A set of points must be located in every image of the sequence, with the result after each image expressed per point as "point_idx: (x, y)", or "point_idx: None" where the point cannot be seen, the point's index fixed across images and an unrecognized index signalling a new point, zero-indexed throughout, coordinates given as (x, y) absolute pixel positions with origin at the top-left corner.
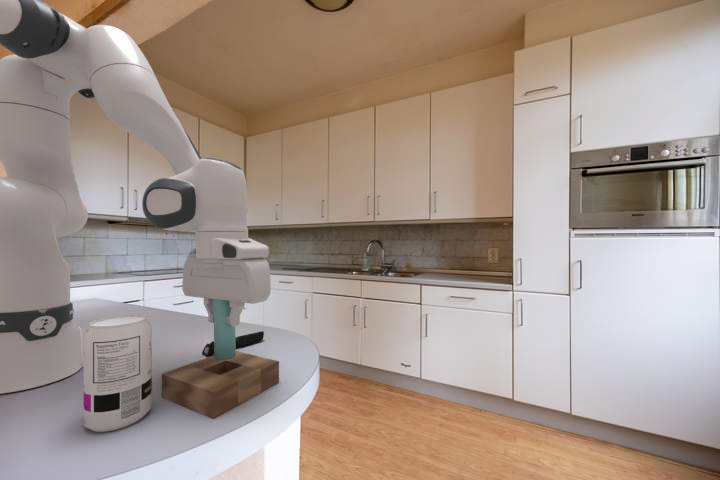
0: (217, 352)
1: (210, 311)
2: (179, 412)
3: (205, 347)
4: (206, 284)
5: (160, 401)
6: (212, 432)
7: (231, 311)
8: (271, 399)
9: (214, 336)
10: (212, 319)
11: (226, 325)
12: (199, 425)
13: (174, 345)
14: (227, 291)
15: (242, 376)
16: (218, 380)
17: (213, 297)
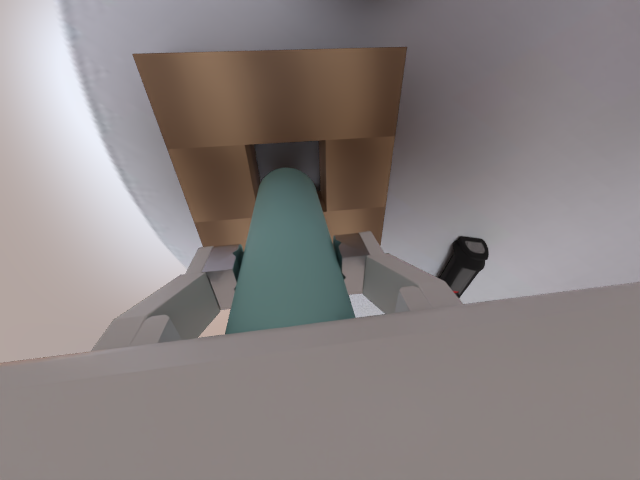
0: (279, 176)
1: (374, 264)
2: (265, 28)
3: (484, 251)
4: (480, 467)
5: (364, 36)
6: (97, 11)
7: (166, 295)
8: (161, 191)
9: (298, 196)
10: (343, 240)
11: (246, 242)
12: (157, 14)
13: (580, 233)
14: (28, 454)
15: (186, 172)
16: (212, 119)
17: (310, 332)
